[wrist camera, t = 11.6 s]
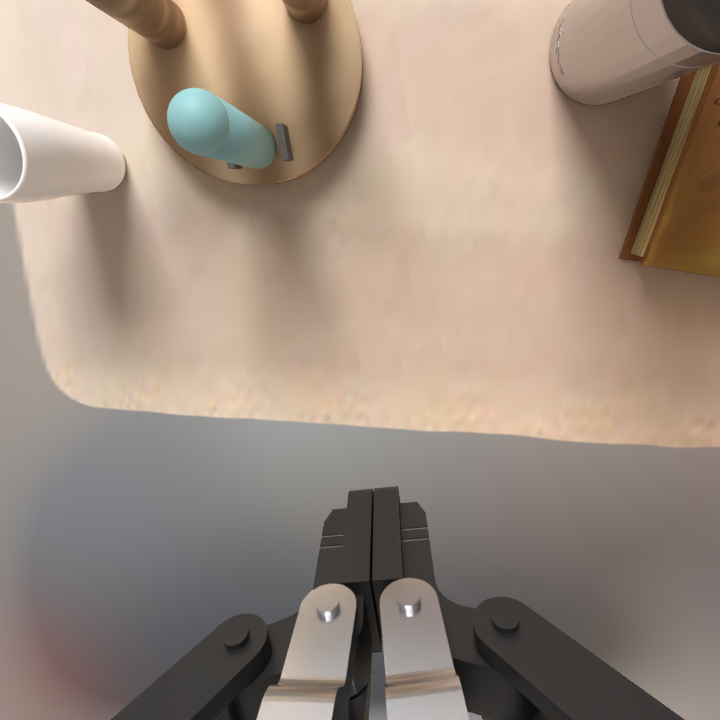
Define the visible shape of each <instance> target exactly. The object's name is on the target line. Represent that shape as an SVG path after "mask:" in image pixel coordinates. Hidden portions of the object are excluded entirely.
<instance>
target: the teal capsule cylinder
mask: <svg viewBox="0 0 720 720" xmlns="http://www.w3.org/2000/svg"><path fill="white" fill-rule="evenodd" d="M167 122H168V127H169V130H170V132H171V134H172V136H173V138H174V139H175V140H176V142H177V143H178V144H179V145H180V146H181V147H182V148H184V149H185V150H187V151H189V152H191V153H193V154H196V155H200V156H204V157H208V158H212V159H216V160H220V161H224V162H228V163H233V164H237V165H241V166H245V167H249V168H253V169H261V168H265V167H267V166H268V165H270V164H271V163H272V161H273V160H274V158H275V156H276V152H277V145H276V140H275V138H274V136H273V134H272V133H271V131H270V130H269V129H268V128H266V127H265V126H263V125H262V124H260V123H259V122H257V121H255V120H254V119H252V118H251V117H249V116H248V115H246V114H244V113H243V112H241V111H240V110H238V109H236V108H235V107H233V106H232V105H230V104H229V103H227V102H225V101H224V100H222V99H221V98H219V97H217V96H216V95H214V94H213V93H211V92H209V91H207V90H204V89H200V88H188V89H185V90H182V91H180V92H179V93H177V94H176V95H175V96H174V97H173V99H172V100H171V102H170V104H169V107H168V111H167Z"/></svg>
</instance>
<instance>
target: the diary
mask: <svg viewBox="0 0 720 720" xmlns="http://www.w3.org/2000/svg"><path fill="white" fill-rule="evenodd" d="M619 258H622V259H628V260H634V261H641V262H642V263H641V264H642V265H646V266H652V267H658V268H664V269H671V270H677V271H683V272H690V273H696V274H703V275H709V276H715V277H720V62H719V63H716V64H713V65H711V66H708V67H705V68H703V69H700V70H697V71H695V72H692V73H689V74H687V75H684V76H681V78H680V81H679V83H678V86H677V89H676V92H675V95H674V98H673V101H672V104H671V107H670V110H669V113H668V116H667V119H666V122H665V125H664V128H663V130H662V133H661V136H660V139H659V142H658V145H657V148H656V151H655V154H654V157H653V160H652V163H651V166H650V169H649V172H648V174H647V177H646V180H645V183H644V186H643V189H642V192H641V195H640V198H639V201H638V204H637V207H636V210H635V213H634V216H633V218H632V221H631V224H630V227H629V230H628V233H627V236H626V239H625V242H624V245H623V248H622V251H621V254H620V257H619Z"/></svg>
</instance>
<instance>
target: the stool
mask: <svg viewBox="0 0 720 720" xmlns="http://www.w3.org/2000/svg"><path fill="white" fill-rule="evenodd" d="M86 1H87V2H89V3H91V4H92V5H94V6H95V7H97V8H98V9H100V10H102V11H103V12H105V13H106V14H108V15H109V16H111V17H113V18H114V19H116V20H117V21H119V22H120V23H122V24H124V25H125V26H127V27H128V50H129V60H130V66H131V71H132V75H133V80H134V83H135V86H136V89H137V92H138V95H139V98H140V100H141V102H142V104H143V106H144V109H145V111H146V113H147V115H148V116H149V118H150V120H151V121H152V123H153V125H154V126H155V128H156V129H157V130H158V132H159V133H160V135H161V136H162V137H163V139H164V140H165V141H166V142H167V143H168V144H169V145H170V146H171V147H172V148H173V149H174V151H175V152H177V153H178V154H179V155H180V156H181V157H183V158H184V159H185V160H186V161H187V162H189V163H190V164H192V165H193V166H195V167H196V168H198V169H199V170H201V171H203V172H205V173H207V174H209V175H211V176H213V177H216V178H219V179H222V180H225V181H229V182H234V183H239V184H252V185H267V184H277V183H281V182H285V181H289V180H292V179H294V178H297V177H299V176H301V175H303V174H305V173H307V172H309V171H310V170H312V169H313V168H315V167H316V166H317V165H319V164H320V163H321V162H323V161H324V160H325V159H326V158H327V157H328V156H329V155H330V154H331V153H332V152H333V150H334V149H335V148H336V146H337V145H338V144H339V142H340V141H341V140H342V138H343V136H344V135H345V133H346V131H347V129H348V128H349V125H350V123H351V121H352V118H353V116H354V114H355V110H356V107H357V103H358V100H359V95H360V89H361V83H362V51H361V43H360V36H359V31H358V25H357V20H356V16H355V13H354V10H353V6H352V3H351V0H86ZM188 88H200V89H204V90H207V91H209V92H211V93H213V94H214V95H216V96H217V97H219V98H221V99H222V100H224V101H225V102H227V103H229V104H230V105H232V106H233V107H235V108H236V109H238V110H240V111H241V112H243V113H244V114H246V115H248V116H249V117H251V118H252V119H254V120H255V121H257V122H259V123H260V124H262V125H263V126H265V127H266V128H268V129H269V130H270V131H271V133H272V134H273V136H274V138H275V140H276V145H277V152H276V156H275V158H274V160H273V161H272V163H271V164H270V165H268V166H267V167H265V168H261V169H253V168H249V167H245V166H241V165H237V164H233V163H228V162H224V161H220V160H216V159H212V158H208V157H204V156H200V155H196V154H193V153H191V152H189V151H187V150H185V149H184V148H182V147H181V146H180V145H179V144H178V143H177V142H176V140H175V139H174V138H173V136H172V134H171V132H170V130H169V127H168V122H167V111H168V107H169V104H170V102H171V100H172V99H173V97H174V96H175V95H176V94H177V93H179V92H180V91H182V90H185V89H188Z"/></svg>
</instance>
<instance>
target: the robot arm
mask: <svg viewBox="0 0 720 720" xmlns="http://www.w3.org/2000/svg"><path fill="white" fill-rule="evenodd" d="M719 62H720V0H573V1H572V2H571V3H570V4H569V5H568V7H567V8H566V10H565V11H564V12H563V14H562V15H561V17H560V19H559V21H558V23H557V25H556V27H555V29H554V33H553V37H552V40H551V47H550V63H551V69H552V72H553V76H554V79H555V81H556V82H557V84H558V86H559V88H560V89H561V90H562V91H563V92H564V93H565V94H566V95H567V96H568V97H570V98H571V99H573V100H575V101H576V102H579V103H583V104H586V105H601V104H607V103H610V102H613V101H616V100H618V99H621V98H624V97H627V96H629V95H632V94H635V93H638V92H641V91H643V90H646V89H649V88H652V87H654V86H657V85H660V84H662V83H665V82H668V81H670V80H673V79H676V78H678V77H681V76H684V75H687V74H689V73H692V72H695V71H697V70H700V69H703V68H705V67H708V66H711V65H713V64H716V63H719ZM382 642H383V649H384V661H385V672H386V684H385V692H386V706H387V718H388V720H469V716H468V712H472V713H475V714H478V715H481V716H482V719H483V720H684V719H683V718H681V717H680V716H679V715H677V714H676V713H674V712H673V711H671V710H670V709H669V708H667V707H666V706H665V705H663V704H662V703H661V702H659V701H658V700H656V699H655V698H654V697H652V696H651V695H649V694H648V693H647V692H645V691H644V690H643V689H641V688H640V687H638V686H637V685H636V684H634V683H633V682H631V681H630V680H628V679H627V678H626V677H624V676H623V675H622V674H620V673H619V672H617V671H616V670H615V669H613V668H612V667H611V666H609V665H608V664H607V663H605V662H604V661H602V660H601V659H600V658H598V657H597V656H595V655H594V654H593V653H591V652H590V651H588V650H587V649H586V648H584V647H583V646H582V645H580V644H579V643H577V642H576V641H575V640H573V639H572V638H571V637H569V636H568V635H566V634H565V633H564V632H562V631H561V630H559V629H558V628H557V627H555V626H554V625H552V624H551V623H550V622H548V621H547V620H545V619H544V618H543V617H541V616H540V615H539V614H537V613H536V612H534V611H533V610H532V609H530V608H529V607H528V606H526V605H525V604H523V603H522V602H520V601H517V600H515V599H512V598H508V597H493V598H490V599H487V600H485V601H483V602H482V603H480V604H479V606H478V607H477V608H476V609H475V608H470V607H466V606H462V605H458V604H456V603H454V602H452V601H450V600H448V599H447V598H446V597H444V596H443V595H442V593H441V592H440V591H439V589H438V588H437V586H436V583H435V578H434V571H433V563H432V556H431V548H430V541H429V534H428V527H427V520H426V513H425V512H424V510H423V509H422V508H421V507H420V505H419V504H418V503H417V502H410V503H400V497H399V490H398V486H396V487H385V488H375V489H374V491H373V489H365V490H354V491H349V494H348V504H347V508H345V509H335V510H332V512H331V514H330V515H329V516H328V518H327V519H326V520H325V522H324V527H323V533H322V539H321V545H320V551H319V557H318V563H317V569H316V575H315V581H314V587H313V590H312V591H311V592H310V593H309V594H308V595H307V596H306V597H305V598H304V600H303V602H302V604H301V606H300V610H299V611H298V612H296V613H295V614H294V615H292V616H290V617H287V618H285V619H282V620H280V621H277V622H274V623H272V624H269V625H266V624H265V622H264V620H263V619H262V618H261V617H259V616H257V615H254V614H240V615H237V616H234V617H232V618H229V619H228V620H226V621H224V622H223V623H222V624H221V625H220V626H218V627H217V628H216V629H215V630H214V631H213V632H212V633H210V634H209V635H208V636H207V637H206V638H204V639H203V640H202V641H201V642H200V643H199V644H198V645H196V646H195V647H194V648H193V649H192V650H191V651H189V652H188V653H187V654H186V655H185V656H184V657H183V658H181V659H180V660H179V661H178V662H177V663H176V664H174V665H173V666H172V667H171V668H170V669H169V670H168V671H166V672H165V673H164V674H163V675H162V676H161V677H159V678H158V679H157V680H156V681H155V682H154V683H153V684H152V685H150V686H149V687H148V688H147V689H146V690H144V691H143V692H142V693H141V694H140V695H139V696H138V697H136V698H135V699H134V700H133V701H132V702H131V703H129V704H128V705H127V706H126V707H125V708H124V709H123V710H121V711H120V712H119V713H118V714H117V715H116V716H114V717H113V718H112V719H111V720H368V719H369V708H370V698H371V677H370V675H371V660H372V659H371V658H372V653H374V652H375V653H376V652H382V647H381V645H382ZM467 711H468V712H467Z"/></svg>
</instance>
